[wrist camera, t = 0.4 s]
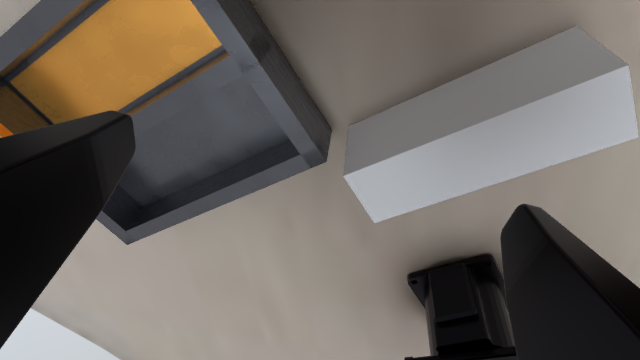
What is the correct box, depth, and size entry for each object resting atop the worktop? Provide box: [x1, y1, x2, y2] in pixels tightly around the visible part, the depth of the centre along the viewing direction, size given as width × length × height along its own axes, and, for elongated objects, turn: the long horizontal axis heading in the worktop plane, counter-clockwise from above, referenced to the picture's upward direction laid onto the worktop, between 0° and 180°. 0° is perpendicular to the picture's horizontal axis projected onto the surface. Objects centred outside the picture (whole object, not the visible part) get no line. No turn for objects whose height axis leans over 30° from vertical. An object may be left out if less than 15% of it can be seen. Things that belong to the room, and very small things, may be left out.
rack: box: [0, 0, 332, 245], centre depth 22 cm, size 13×16×4 cm
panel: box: [343, 26, 639, 223], centre depth 20 cm, size 4×12×5 cm, turn 121°
